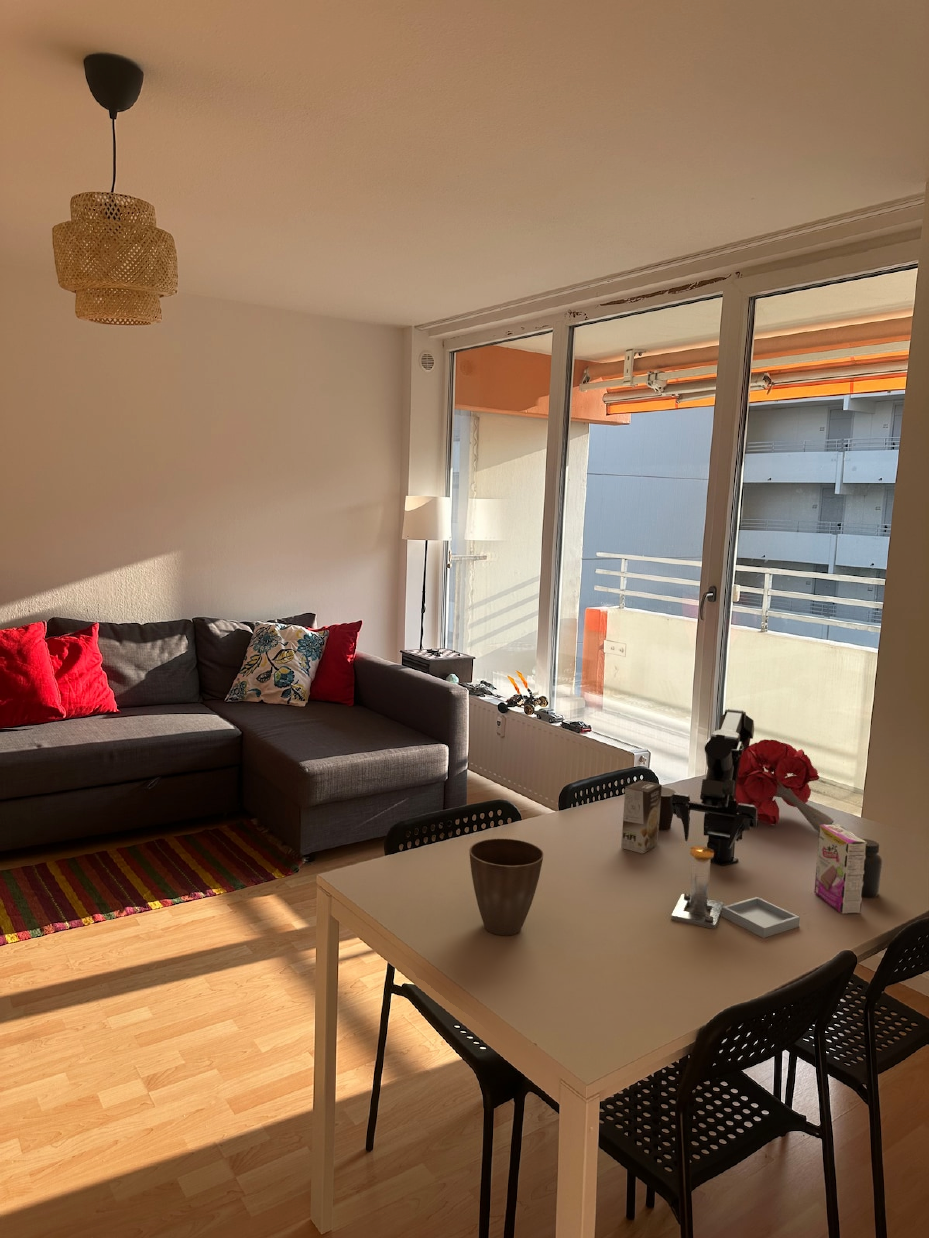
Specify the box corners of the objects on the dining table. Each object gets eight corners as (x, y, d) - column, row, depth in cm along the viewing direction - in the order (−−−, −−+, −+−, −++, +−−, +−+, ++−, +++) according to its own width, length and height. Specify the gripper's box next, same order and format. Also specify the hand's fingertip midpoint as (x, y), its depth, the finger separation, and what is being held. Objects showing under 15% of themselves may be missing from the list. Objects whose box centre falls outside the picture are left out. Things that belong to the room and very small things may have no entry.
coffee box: (643, 854, 223) (647, 792, 221) (620, 848, 226) (624, 787, 224) (658, 844, 230) (662, 784, 228) (635, 838, 234) (639, 779, 232)
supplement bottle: (847, 895, 203) (851, 844, 201) (845, 883, 209) (850, 834, 208) (880, 900, 200) (885, 849, 199) (877, 889, 207) (882, 839, 205)
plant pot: (467, 909, 188) (470, 836, 186) (537, 912, 188) (541, 839, 186) (465, 942, 173) (468, 863, 171) (541, 946, 173) (545, 867, 171)
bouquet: (820, 842, 255) (737, 772, 270) (868, 784, 244) (778, 714, 258) (790, 868, 239) (703, 792, 254) (839, 806, 228) (745, 731, 243)
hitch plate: (681, 898, 198) (682, 891, 197) (723, 906, 194) (723, 899, 194) (671, 919, 187) (671, 912, 186) (715, 929, 183) (715, 921, 183)
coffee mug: (677, 832, 239) (680, 796, 238) (645, 831, 239) (648, 795, 238) (668, 817, 251) (670, 783, 250) (638, 816, 251) (640, 782, 250)
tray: (756, 905, 195) (757, 896, 195) (798, 926, 186) (799, 916, 186) (721, 916, 189) (722, 906, 189) (763, 937, 180) (764, 928, 180)
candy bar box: (812, 893, 203) (818, 823, 201) (832, 892, 204) (838, 823, 202) (840, 914, 192) (847, 841, 190) (861, 914, 193) (868, 841, 191)
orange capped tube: (697, 906, 194) (701, 844, 192) (714, 915, 190) (718, 852, 188) (681, 910, 191) (685, 848, 189) (698, 919, 187) (702, 855, 185)
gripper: (674, 758, 202) (661, 819, 193) (760, 770, 194) (750, 834, 186) (678, 782, 210) (665, 842, 201) (761, 795, 202) (751, 858, 194)
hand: (707, 844), depth 195 cm, fingers open, 9 cm apart
